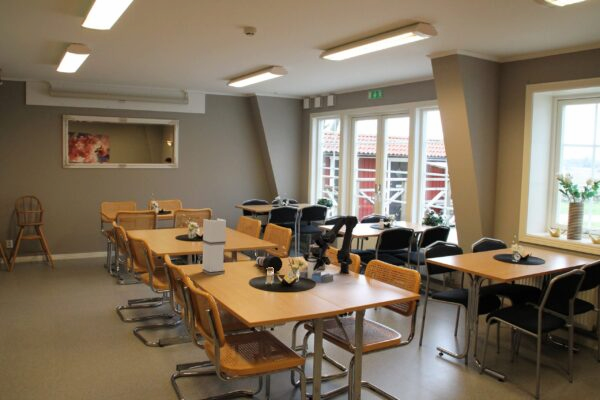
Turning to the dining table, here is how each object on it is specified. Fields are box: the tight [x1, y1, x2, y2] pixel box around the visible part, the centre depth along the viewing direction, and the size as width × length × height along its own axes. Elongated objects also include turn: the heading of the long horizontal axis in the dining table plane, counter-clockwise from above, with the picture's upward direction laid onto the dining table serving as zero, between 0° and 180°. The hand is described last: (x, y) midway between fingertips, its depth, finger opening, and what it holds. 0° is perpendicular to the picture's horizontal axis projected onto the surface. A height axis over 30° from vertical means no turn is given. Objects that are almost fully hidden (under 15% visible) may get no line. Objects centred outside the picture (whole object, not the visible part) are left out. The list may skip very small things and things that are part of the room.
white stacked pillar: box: [202, 218, 227, 276], centre depth 334 cm, size 11×11×35 cm
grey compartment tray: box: [299, 269, 334, 284], centre depth 322 cm, size 20×9×5 cm, turn 53°
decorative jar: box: [308, 243, 327, 270], centre depth 363 cm, size 12×12×18 cm
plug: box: [307, 259, 318, 280], centre depth 324 cm, size 4×4×12 cm
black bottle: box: [255, 255, 283, 273], centre depth 356 cm, size 10×34×10 cm, turn 23°
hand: (310, 269), depth 323 cm, fingers closed on plug, 4 cm apart
